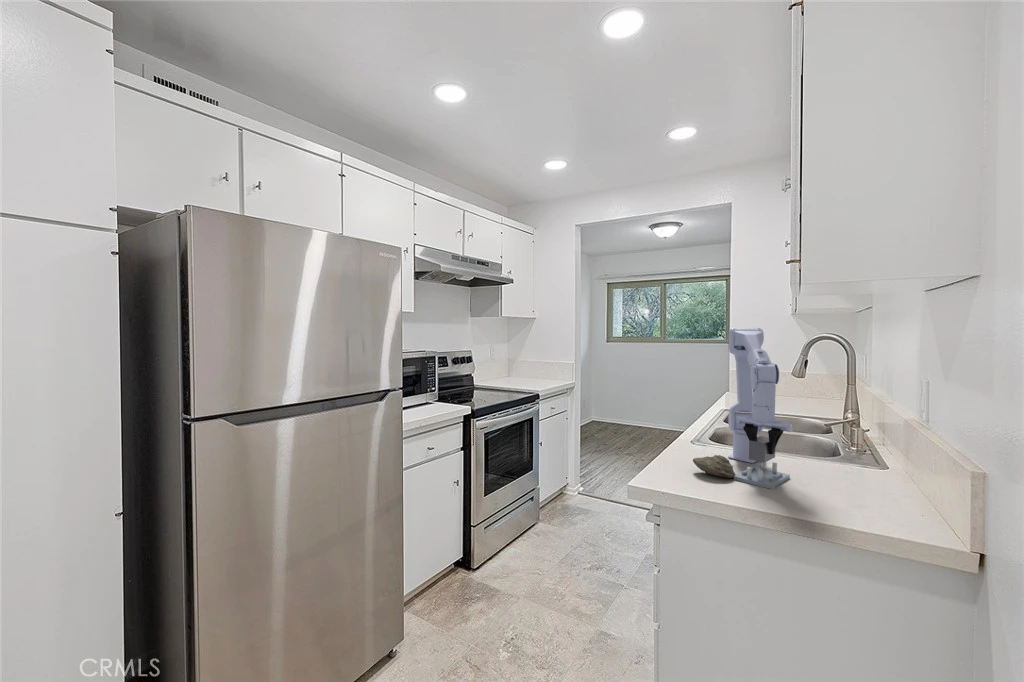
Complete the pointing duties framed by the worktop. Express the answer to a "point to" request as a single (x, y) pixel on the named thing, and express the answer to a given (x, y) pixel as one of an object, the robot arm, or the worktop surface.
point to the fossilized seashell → (715, 466)
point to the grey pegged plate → (762, 476)
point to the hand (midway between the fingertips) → (762, 451)
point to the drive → (760, 449)
